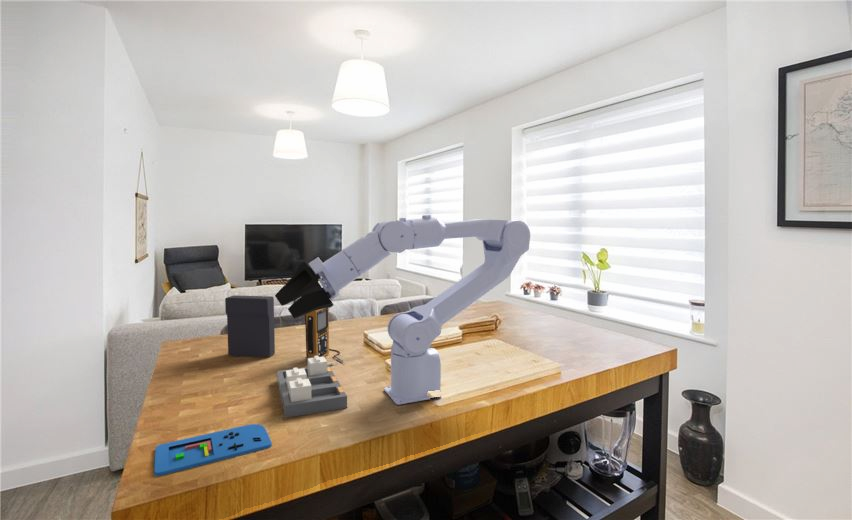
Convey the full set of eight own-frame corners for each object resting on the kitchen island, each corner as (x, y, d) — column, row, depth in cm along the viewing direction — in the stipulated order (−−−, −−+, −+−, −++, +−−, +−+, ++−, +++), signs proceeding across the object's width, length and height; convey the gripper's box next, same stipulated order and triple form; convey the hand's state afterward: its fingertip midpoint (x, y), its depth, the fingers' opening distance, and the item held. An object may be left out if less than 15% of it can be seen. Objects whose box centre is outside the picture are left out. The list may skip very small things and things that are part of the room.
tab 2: (308, 396, 78) (308, 376, 78) (311, 404, 75) (311, 382, 75) (289, 399, 77) (288, 378, 77) (291, 407, 74) (290, 385, 73)
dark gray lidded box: (276, 353, 107) (275, 295, 106) (268, 358, 103) (267, 298, 102) (236, 351, 109) (234, 294, 107) (226, 356, 104) (224, 297, 103)
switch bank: (328, 374, 93) (328, 364, 93) (347, 407, 76) (347, 395, 76) (277, 381, 89) (277, 370, 89) (285, 418, 72) (284, 405, 72)
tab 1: (304, 385, 84) (304, 365, 83) (306, 391, 80) (306, 371, 80) (286, 387, 82) (285, 368, 82) (287, 394, 79) (287, 374, 79)
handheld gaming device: (272, 442, 63) (153, 472, 55) (272, 449, 63) (154, 480, 55) (262, 419, 70) (155, 443, 62) (262, 426, 70) (155, 450, 62)
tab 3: (324, 372, 91) (324, 354, 91) (327, 377, 88) (327, 359, 88) (307, 374, 90) (307, 356, 89) (310, 380, 87) (310, 361, 86)
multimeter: (338, 371, 95) (337, 284, 93) (298, 368, 97) (296, 282, 95) (361, 352, 109) (360, 276, 108) (325, 349, 111) (324, 275, 109)
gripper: (344, 263, 84) (285, 303, 80) (330, 229, 70) (259, 275, 67) (364, 289, 82) (304, 331, 78) (354, 259, 68) (281, 308, 65)
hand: (284, 307), depth 72 cm, fingers open, 7 cm apart
